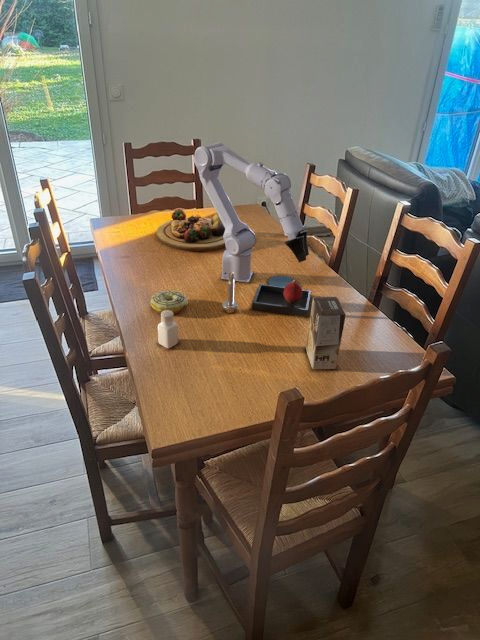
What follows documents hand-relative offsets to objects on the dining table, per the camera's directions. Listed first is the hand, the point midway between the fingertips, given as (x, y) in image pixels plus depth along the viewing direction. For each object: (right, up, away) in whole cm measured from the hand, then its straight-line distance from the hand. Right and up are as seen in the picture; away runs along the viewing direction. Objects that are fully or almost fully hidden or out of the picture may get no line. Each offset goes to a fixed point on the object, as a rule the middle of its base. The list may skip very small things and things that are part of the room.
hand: (304, 258), depth 141 cm
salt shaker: (-38, -25, -16) cm, 49 cm away
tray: (-6, -13, +4) cm, 15 cm away
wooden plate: (-37, +15, +47) cm, 62 cm away
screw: (-22, -16, -1) cm, 27 cm away
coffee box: (+2, -29, -19) cm, 35 cm away
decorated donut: (-41, -15, 0) cm, 43 cm away
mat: (-5, -6, +16) cm, 18 cm away
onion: (-3, -14, +4) cm, 15 cm away
